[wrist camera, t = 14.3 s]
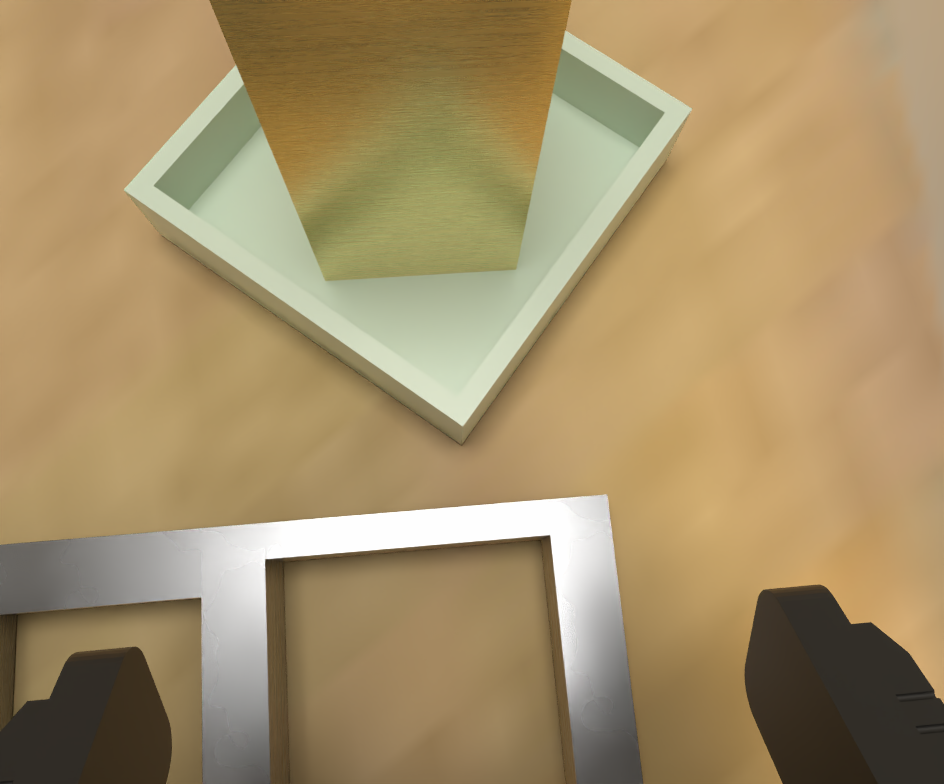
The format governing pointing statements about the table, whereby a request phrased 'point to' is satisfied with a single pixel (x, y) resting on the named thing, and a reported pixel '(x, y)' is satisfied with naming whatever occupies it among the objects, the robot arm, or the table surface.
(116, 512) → the table surface
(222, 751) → the grey metal holder frame
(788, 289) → the table surface
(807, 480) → the table surface
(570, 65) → the parts tray
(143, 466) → the table surface
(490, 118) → the gold perfume bottle
